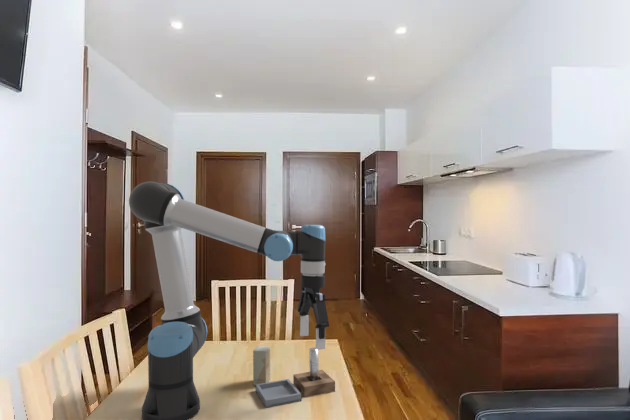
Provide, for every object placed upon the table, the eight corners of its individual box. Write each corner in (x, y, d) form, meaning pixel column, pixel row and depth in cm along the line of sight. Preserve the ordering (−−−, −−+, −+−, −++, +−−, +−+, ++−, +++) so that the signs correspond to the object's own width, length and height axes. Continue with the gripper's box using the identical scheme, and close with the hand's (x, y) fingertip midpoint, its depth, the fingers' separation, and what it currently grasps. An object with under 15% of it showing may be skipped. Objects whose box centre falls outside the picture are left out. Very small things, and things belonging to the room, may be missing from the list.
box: (265, 386, 129) (265, 351, 129) (252, 385, 130) (252, 350, 130) (270, 379, 134) (270, 346, 134) (258, 378, 135) (258, 345, 135)
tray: (265, 407, 115) (265, 400, 115) (255, 390, 126) (255, 384, 126) (301, 400, 119) (301, 393, 119) (288, 385, 130) (288, 378, 130)
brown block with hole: (304, 397, 121) (304, 387, 121) (293, 383, 131) (293, 374, 131) (335, 391, 125) (335, 381, 125) (322, 378, 134) (322, 369, 134)
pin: (311, 390, 126) (311, 351, 126) (308, 386, 129) (308, 348, 129) (320, 388, 127) (319, 349, 127) (316, 385, 130) (316, 347, 130)
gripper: (341, 280, 118) (339, 353, 118) (309, 268, 141) (308, 329, 141) (316, 281, 115) (315, 356, 115) (288, 269, 138) (287, 331, 138)
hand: (311, 342), depth 128 cm, fingers open, 13 cm apart
